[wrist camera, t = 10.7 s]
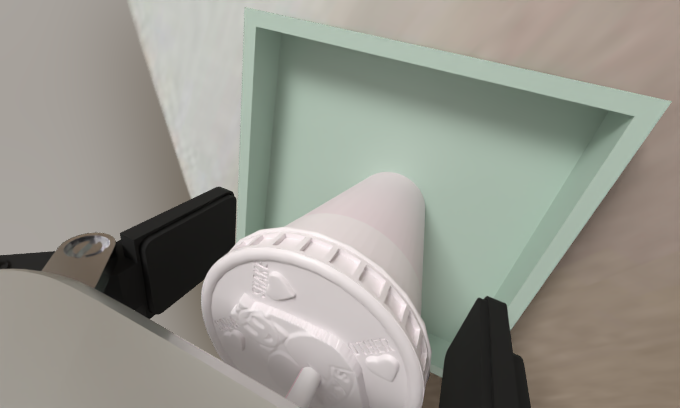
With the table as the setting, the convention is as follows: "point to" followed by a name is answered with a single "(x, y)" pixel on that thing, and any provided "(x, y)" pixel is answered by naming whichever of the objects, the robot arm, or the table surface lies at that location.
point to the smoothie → (330, 301)
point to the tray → (432, 153)
